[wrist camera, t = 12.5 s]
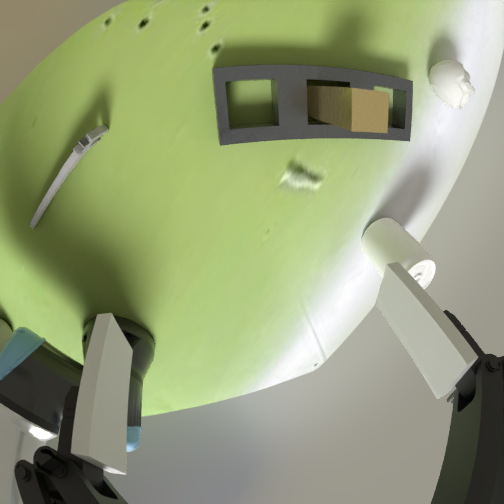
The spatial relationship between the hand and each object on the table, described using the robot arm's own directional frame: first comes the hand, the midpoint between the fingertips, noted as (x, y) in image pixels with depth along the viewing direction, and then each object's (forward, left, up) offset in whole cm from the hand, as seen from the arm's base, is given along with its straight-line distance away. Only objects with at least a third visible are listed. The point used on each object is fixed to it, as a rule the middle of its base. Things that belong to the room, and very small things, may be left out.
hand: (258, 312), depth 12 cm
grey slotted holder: (+7, -13, -25) cm, 29 cm away
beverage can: (-15, -25, -25) cm, 38 cm away
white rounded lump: (+13, -34, -25) cm, 44 cm away
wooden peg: (+7, -13, -25) cm, 29 cm away
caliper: (+2, +22, -26) cm, 34 cm away
